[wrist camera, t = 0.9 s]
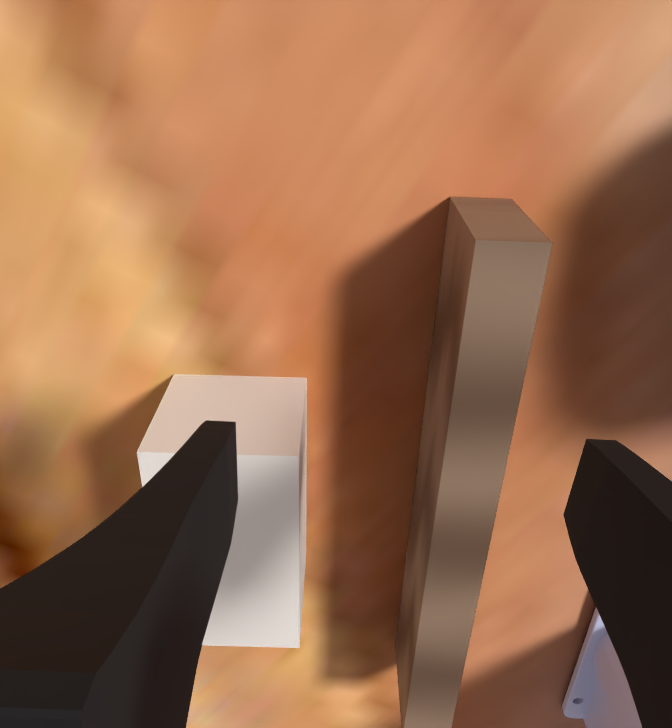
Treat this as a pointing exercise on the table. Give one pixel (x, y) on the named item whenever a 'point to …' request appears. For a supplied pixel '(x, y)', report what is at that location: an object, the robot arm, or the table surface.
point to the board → (464, 442)
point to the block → (248, 497)
